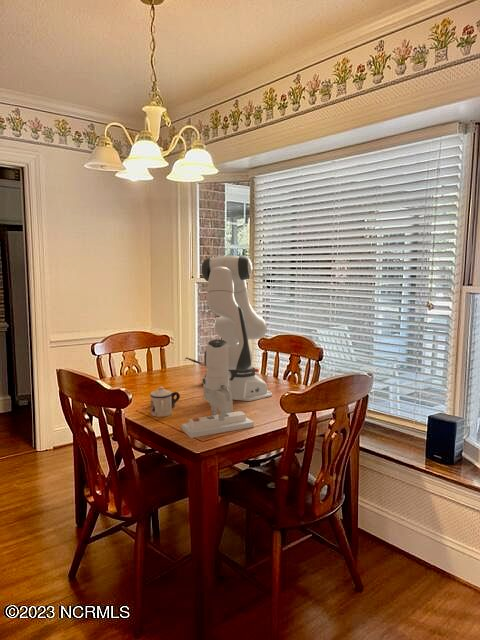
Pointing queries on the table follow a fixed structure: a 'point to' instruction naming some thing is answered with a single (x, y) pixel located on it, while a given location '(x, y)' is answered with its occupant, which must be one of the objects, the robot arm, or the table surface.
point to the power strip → (216, 420)
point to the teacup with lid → (161, 402)
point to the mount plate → (216, 428)
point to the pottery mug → (174, 399)
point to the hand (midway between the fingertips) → (218, 417)
